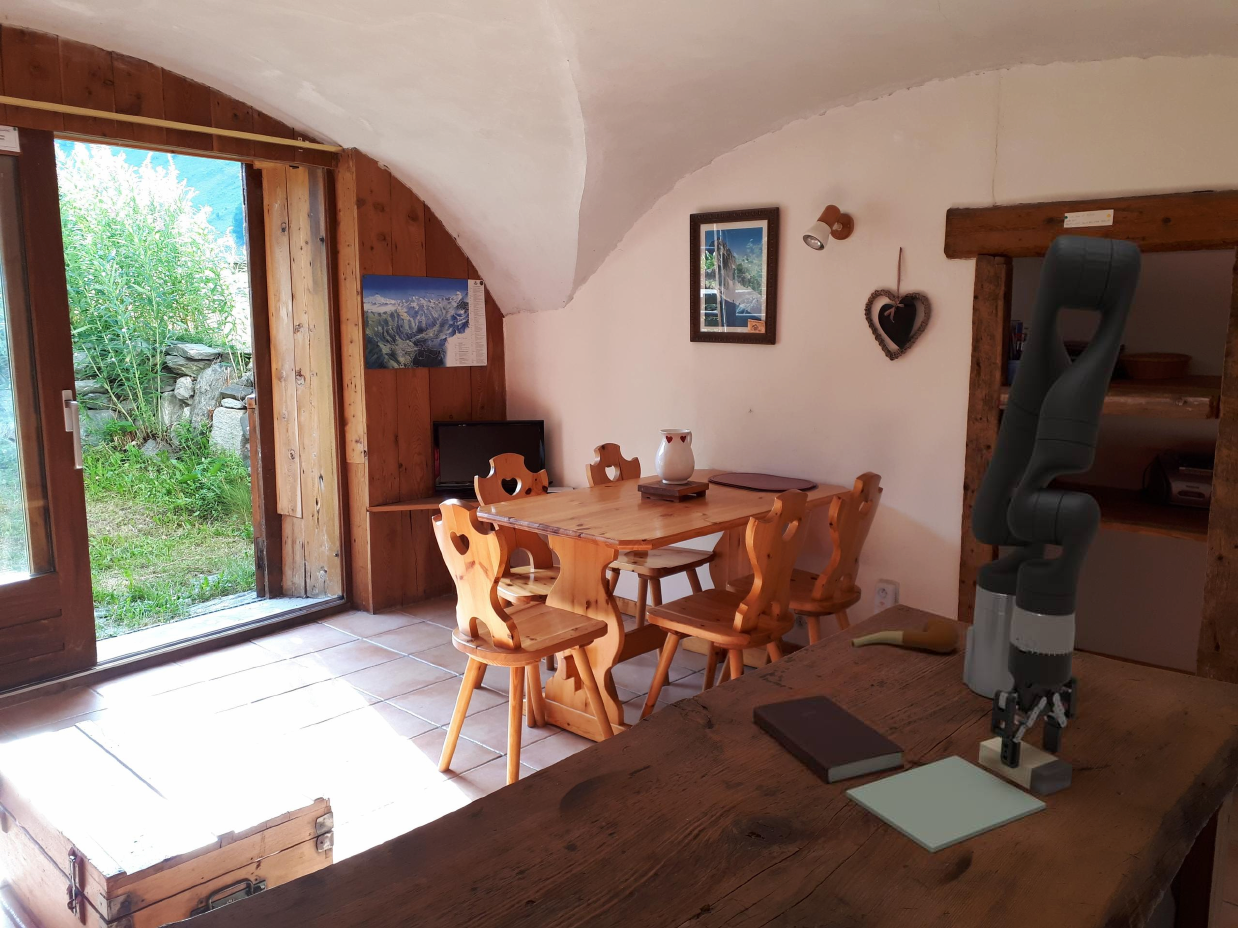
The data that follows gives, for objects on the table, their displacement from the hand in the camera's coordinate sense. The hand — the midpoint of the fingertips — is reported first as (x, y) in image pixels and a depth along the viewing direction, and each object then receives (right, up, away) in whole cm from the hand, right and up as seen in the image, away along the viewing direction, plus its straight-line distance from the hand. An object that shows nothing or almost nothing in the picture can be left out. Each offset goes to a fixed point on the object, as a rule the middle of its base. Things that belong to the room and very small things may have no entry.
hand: (1030, 758), depth 124 cm
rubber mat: (-13, -3, -6) cm, 15 cm away
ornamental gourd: (-2, +5, +45) cm, 45 cm away
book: (-25, -1, +9) cm, 27 cm away
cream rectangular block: (0, -3, +1) cm, 3 cm away
